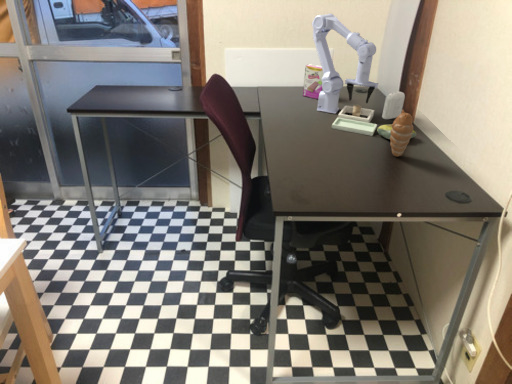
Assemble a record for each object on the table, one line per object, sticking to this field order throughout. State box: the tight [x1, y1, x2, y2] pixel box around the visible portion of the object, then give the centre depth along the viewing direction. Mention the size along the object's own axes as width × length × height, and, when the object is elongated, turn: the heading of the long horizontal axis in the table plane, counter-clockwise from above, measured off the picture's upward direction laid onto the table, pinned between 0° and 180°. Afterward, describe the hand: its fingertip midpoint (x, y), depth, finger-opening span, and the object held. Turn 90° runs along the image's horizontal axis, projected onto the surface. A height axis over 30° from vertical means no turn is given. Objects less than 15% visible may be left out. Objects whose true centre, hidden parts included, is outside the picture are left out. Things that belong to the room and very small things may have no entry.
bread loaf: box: [351, 104, 362, 117], centre depth 191 cm, size 4×4×6 cm
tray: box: [331, 116, 378, 137], centre depth 181 cm, size 18×10×2 cm, turn 66°
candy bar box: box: [302, 63, 324, 100], centre depth 214 cm, size 11×5×16 cm, turn 58°
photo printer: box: [381, 91, 406, 120], centre depth 193 cm, size 10×4×12 cm, turn 123°
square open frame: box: [337, 105, 375, 123], centre depth 192 cm, size 14×14×3 cm
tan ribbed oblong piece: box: [389, 109, 414, 158], centre depth 154 cm, size 9×8×18 cm
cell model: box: [376, 123, 417, 140], centre depth 173 cm, size 11×8×15 cm
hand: (358, 101), depth 189 cm, fingers open, 7 cm apart
